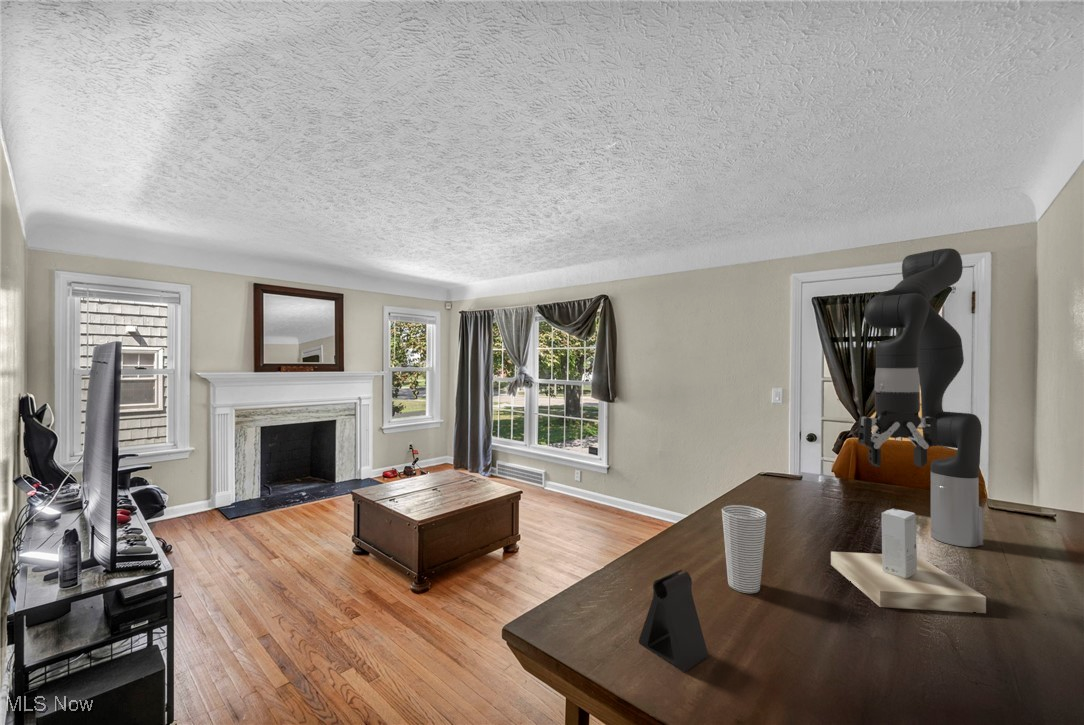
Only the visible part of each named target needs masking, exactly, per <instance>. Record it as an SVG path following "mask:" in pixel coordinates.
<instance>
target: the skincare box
mask: <svg viewBox="0 0 1084 725" xmlns="http://www.w3.org/2000/svg"><path fill="white" fill-rule="evenodd" d="M916 521H917V520H916V513H915V512H912V511H907V510H902V509H897V508H891V509H887V510H885V511H882V512H881V552H882V553H881V554H882V569H883V571H884V572H886V573H889V574H892V575H895V576H898V577H901V578H905V579H906V578H909V577H910V576H912V575H914V574H915V573H916V572H917V556H918V554H917V553H918V552H917V526H916V525H917V524H916V523H917V522H916Z"/></svg>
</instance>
